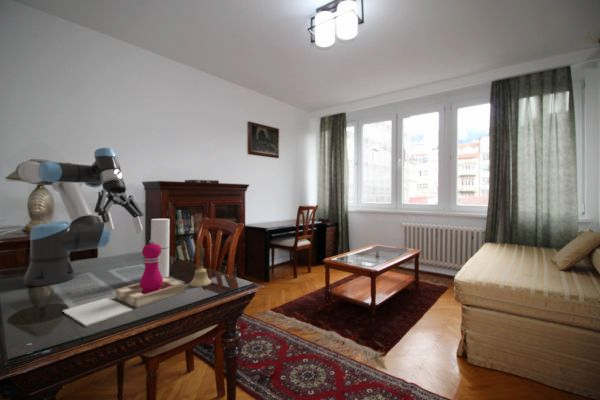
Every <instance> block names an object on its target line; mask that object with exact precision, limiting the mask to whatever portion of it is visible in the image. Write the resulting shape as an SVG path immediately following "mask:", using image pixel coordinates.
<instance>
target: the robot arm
mask: <svg viewBox="0 0 600 400" xmlns="http://www.w3.org/2000/svg"><path fill="white" fill-rule="evenodd" d="M93 153H94V159H95V160H94V162H93V163H92V164H91V165H87V164H79V163H77V164H76V163H71V162H57V161H48V160H47V161H46V160H29V161H23V162H21V163H20V164H18V165H17V166H16V169H15V174H16V176H17V178H18V179H19V180H21V181H23V182H24V183H28V184H32V185H40V186H51V187H52V189H53V190H54V191H55V192H58V193H59V195H60V198H61V200H62V202H63V205H64V207H65V210H66V213H67V215H68V217H69V219H70V222H69V221H66V220H62V221H54V222H52V221H51V222H47V223H40V224H37V225H34V226H33V227H31V229H30V234H29V240H30V242H29V244H30V247H29V248H30V249H29V257H30V262H29V266H28V268H27V271H26V272H25V275H24V277H23V285H25V286H27V287H39V286H40V287H42V286H49V285H50V286H51V285H57V284H60V283H64V282H67V281H70V280H72V279H74V278H75V277H76V276H75V275H76V272H75V269H74V267H73V264H72V262H71V259H70V253H71V252H77V251H86V250H92V249H98V248H99V249H100V248H104V247H105V248H106V246H107V245H109V242H110V241H111V235H112V230H114V229H115V226H114V222H113V219H112V214H111V212H109V210H110V209H111V207H112V206H113V205H118V206H120V207H121V208H124V209H125V210H126V211H127V212H128V213H129V215H130V216H132V221H133V225H134V229H135V233H136V234H140V233H141V232H143V231H144V228H143V225H142V219H141V217H143V216H144V213H143V211H142V210H141V208H140V206H139V205H138V203H136V201H135V199H134V196H133V195H131V194H130V195H126V191H127V187H126V183H125V181H124V178H123V174H122V170H121V165H120V162H119V157H118V155H117V153H116V151H115V149H113V148H111V147H101V148H97V149H95V151H94V152H93ZM83 184H85V185H86V186H88V187H90V188H94V189H95V188H99V187H101V186H102V189H101V190H100V191H97V194H98V195H97V196H98V198H97V201H96V204H95V208H94V210H92V208H91V206H90V204H89V201H88V199H87V197H86V195H85V194H84V191H83V190H82V189H83V188H82V185H83ZM93 211H94V212H93ZM94 213H97V215H95V214H94Z"/></svg>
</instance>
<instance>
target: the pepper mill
mask: <svg viewBox="0 0 600 400" xmlns="http://www.w3.org/2000/svg"><path fill="white" fill-rule="evenodd" d="M154 243H155V240H153V239H151V238H150V240H149V242H148V244H146V245H145V246H144V247H143V248H142V249H141V251H142V252H141V253H142V256H143V262H144V264H145V265H144V272H143V273H142V276H141V278H140V281H139V283H140V287H141V288H142V289H143V290H142V291H141V292H140V293H142V294H148V293H151V292H154V291H158V290H161V288H160V286H161V285H162V284H163V278H162V275H161V273H160V271H159V268H158V261H160V259H159V258H160V257H159V255H160V254H161V247H160V246H159V245H158V244H154Z"/></svg>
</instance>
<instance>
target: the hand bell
mask: <svg viewBox="0 0 600 400" xmlns="http://www.w3.org/2000/svg"><path fill="white" fill-rule="evenodd" d="M196 253H197V259H198V266H197V267H198V269H195V271H194V275H193V278H192V280H191V281H190V282H189V286H191V287H195V288H196V287H197V288H199V287H207V286H209V285H211V284H212V280H211V279H209V277H208V276H209V275H208V272H207V269H206V268H204V261H203V259H204V256H205V250H204V245H203V243H201V244H198V247H197V252H196Z"/></svg>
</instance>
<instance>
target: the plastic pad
mask: <svg viewBox="0 0 600 400" xmlns="http://www.w3.org/2000/svg"><path fill="white" fill-rule="evenodd" d="M132 311H133V308H132V307H129V306H126V305H124V304H122V303H120V302H118V301H116V300H113V299H111V298H109V297H106V298H101V299H98V300H95V301H91V302H87V303H84V304H80V305H77V306H73V307H70V308H65V309H63V310H62V313H63V312H64V314H65V315H67V316H68V315H69V317H70V318H71V317H72V318H71V319H73V320H74V321H76V322H78V323H79V324H81V325H83V326H84V327H89V326H92V325H95V324H98V323H101V322H103V321H106V320H109V319H112V318H116V317H118V316H121V315H124V314H126V313H127V314H128V313H131V312H132Z"/></svg>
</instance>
